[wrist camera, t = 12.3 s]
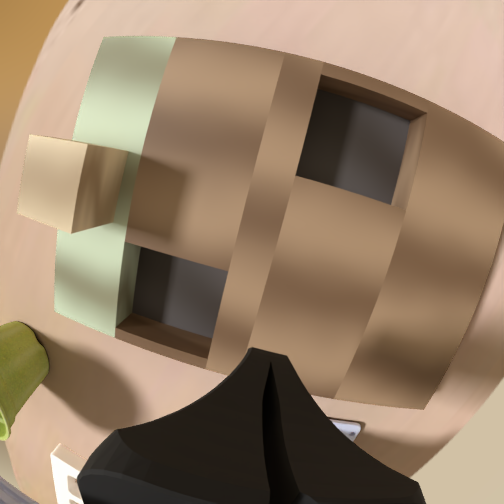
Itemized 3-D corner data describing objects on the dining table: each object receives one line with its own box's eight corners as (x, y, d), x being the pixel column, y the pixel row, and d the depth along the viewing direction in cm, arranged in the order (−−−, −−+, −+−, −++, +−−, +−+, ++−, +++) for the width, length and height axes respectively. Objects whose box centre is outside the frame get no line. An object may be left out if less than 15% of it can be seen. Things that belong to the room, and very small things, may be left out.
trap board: (410, 386, 20) (423, 409, 17) (77, 297, 21) (54, 311, 18) (491, 152, 16) (516, 150, 13) (124, 52, 17) (103, 36, 14)
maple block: (113, 222, 16) (70, 233, 12) (61, 205, 16) (16, 213, 12) (128, 151, 15) (87, 144, 11) (74, 140, 15) (29, 134, 11)
